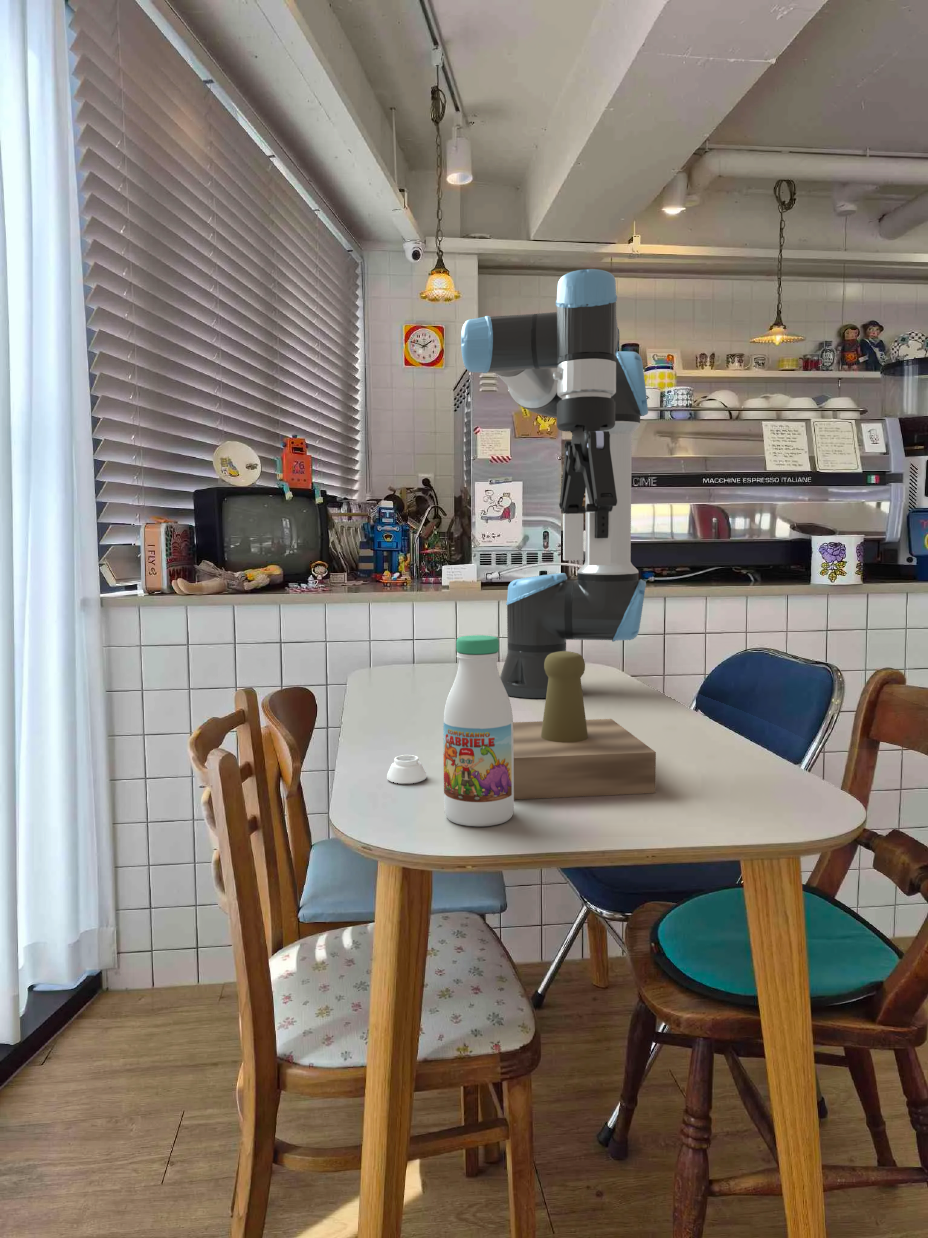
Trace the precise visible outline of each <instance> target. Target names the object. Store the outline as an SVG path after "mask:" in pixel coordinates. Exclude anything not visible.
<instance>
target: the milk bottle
mask: <svg viewBox="0 0 928 1238" xmlns="http://www.w3.org/2000/svg"><path fill="white" fill-rule="evenodd" d="M499 644H500V642H499V638H498V637H496V636H492V635H483V634H482V635H481V634H477V635H476V634H475V635H463V636H459V637H458V638H456V644H455V645H456V646H455V647H456V652H457V653H456V658H457V659H458V667H457V671H456V676H455V677H454V681H453V684H452V686H451V688H450V691H449V693H448V695H447V698H446V701H445V706H444V711H443V738H442V739H443V742H442V743H443V751H442V752H443V754H442V755H443V807H444V808H443V809H444V814H445V817H446V819H447V820H449V821H450V822H452V823H454V824H457V825H461V826H466V827H490V826H497V825H501V824H504V823H506V822H508V821H510V819H511V818H512V816H513V814H514V806H515V805H514V804H515V800H514V748H513V722H514V721H513V719H514V718H513V710H512V709H513V707H512V703H511V700H510V697H509V695H508V694H507V692H506V690H505V688H504V685H503V683H502V681H501V678H500V676H501V674H500V672H499V668H498V664H497V663H498V660H497V659H498V658H499V655H500V654H499V650H500V645H499Z"/></svg>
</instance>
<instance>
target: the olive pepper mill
mask: <svg viewBox="0 0 928 1238" xmlns="http://www.w3.org/2000/svg"><path fill="white" fill-rule="evenodd" d="M544 669H545V672H546V674H547V676H548V677H549V679H548V686H547V694H546V698H545V703H544V711H543V718H542V721H543V724H542V732H541V737H542V738H543V739H545V740H548V741H554V742H578V741H583V740H586V739H587V738H588V733H587V725H586V720H587V719H586V710H585V709H586V708H585V703H584V695H583V694H584V693H583V686H582V679H581V678H582V677H583V675H584V674H585V670H586V662H585V659H584V658H583V656H582V655H581V654H580V653H577V652H574V651H568V650H566V651H560V652H554V653H551V654H549V655H547V657H546V659H545V662H544Z"/></svg>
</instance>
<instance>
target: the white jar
mask: <svg viewBox="0 0 928 1238" xmlns="http://www.w3.org/2000/svg"><path fill="white" fill-rule="evenodd" d="M393 760H394V762H392V763H391V765H390V767H389V769H388V771H387V773H386V779H387V780H388V781H389V782H391V783H393V782H394V784H397V783H398V784H397V785H412V784H413V783H414V784H417V783H421V782H422V781H425V779H427V772H426V769H425V768H424V766H423V764H422V762H420V760H419V756H417V755H412V754H402V755H398V756H395V757H394V759H393Z"/></svg>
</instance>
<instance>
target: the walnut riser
mask: <svg viewBox="0 0 928 1238" xmlns="http://www.w3.org/2000/svg"><path fill="white" fill-rule="evenodd" d="M542 724H543V720H541V721H516V722H514V721H513V748H514V801H515V800H533V799H554V798H558V799H559V798H574V797H577V798H578V797H594V796H595V797H596V796H597V797H598V796H615V795H616V796H617V795H618V796H619V795H638V794H656V775H657V774H656V768H657V767H656V765H657V764H656V760H657V752H656V751H655V750H654V749H652V747H650V746H648V745H647V744H646V743H645V742H643V741H642V740H641V739H639V738H638V737H636V736H635V735H634V734H632V732H630V731H628V730H627V729H626V728H624V727H623V726H622V725H620V724H619V723H618V722H617V721H615V720H613V719H612V718H600V719H599V718H596V719H586V725H587V733H588V738H587V739H586V740H583V741H578V742H554V741H548V740H545V739H543V738H542V737H541V732H542Z"/></svg>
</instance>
